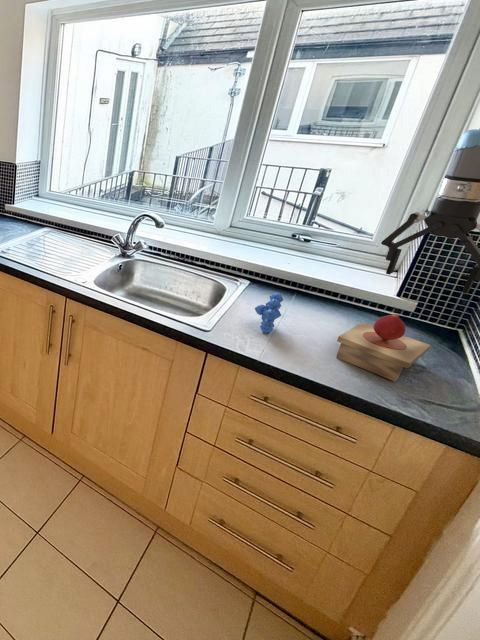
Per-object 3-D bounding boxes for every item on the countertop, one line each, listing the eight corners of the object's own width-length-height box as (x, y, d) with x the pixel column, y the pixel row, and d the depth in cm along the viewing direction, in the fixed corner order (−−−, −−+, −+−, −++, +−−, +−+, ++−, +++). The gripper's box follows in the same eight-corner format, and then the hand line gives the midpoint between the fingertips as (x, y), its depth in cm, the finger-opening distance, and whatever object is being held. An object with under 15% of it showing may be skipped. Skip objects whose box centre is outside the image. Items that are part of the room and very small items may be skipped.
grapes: (252, 317, 133) (262, 283, 128) (277, 324, 129) (289, 290, 124) (245, 332, 125) (257, 297, 120) (273, 341, 121) (285, 304, 116)
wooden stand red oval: (421, 364, 110) (431, 344, 108) (400, 384, 102) (410, 362, 100) (355, 340, 121) (362, 321, 119) (331, 355, 114) (338, 335, 112)
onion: (367, 339, 110) (379, 313, 107) (370, 331, 114) (382, 305, 111) (397, 349, 106) (411, 322, 103) (400, 340, 110) (412, 314, 107)
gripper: (383, 190, 106) (356, 268, 113) (544, 211, 86) (498, 304, 93) (394, 188, 109) (366, 263, 117) (550, 207, 89) (505, 297, 97)
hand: (425, 282), depth 105 cm, fingers open, 13 cm apart
